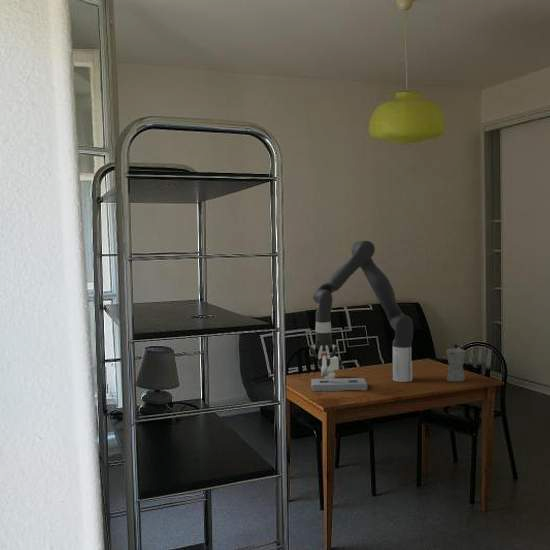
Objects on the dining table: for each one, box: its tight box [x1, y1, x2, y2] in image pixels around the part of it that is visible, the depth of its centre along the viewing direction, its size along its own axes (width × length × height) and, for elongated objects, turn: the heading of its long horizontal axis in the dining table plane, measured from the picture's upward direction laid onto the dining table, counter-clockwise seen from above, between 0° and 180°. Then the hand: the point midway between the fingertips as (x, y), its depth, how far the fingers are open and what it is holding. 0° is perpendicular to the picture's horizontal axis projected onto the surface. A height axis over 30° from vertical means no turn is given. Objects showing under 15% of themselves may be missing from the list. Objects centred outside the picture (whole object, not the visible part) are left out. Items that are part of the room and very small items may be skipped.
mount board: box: [310, 377, 368, 392], centre depth 302 cm, size 26×12×3 cm, turn 89°
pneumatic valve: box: [317, 355, 343, 379], centre depth 320 cm, size 6×12×12 cm, turn 108°
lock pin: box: [320, 351, 328, 377], centre depth 301 cm, size 4×4×12 cm
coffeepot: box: [446, 344, 466, 382], centre depth 312 cm, size 15×9×18 cm, turn 147°
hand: (324, 366), depth 301 cm, fingers closed on lock pin, 3 cm apart
